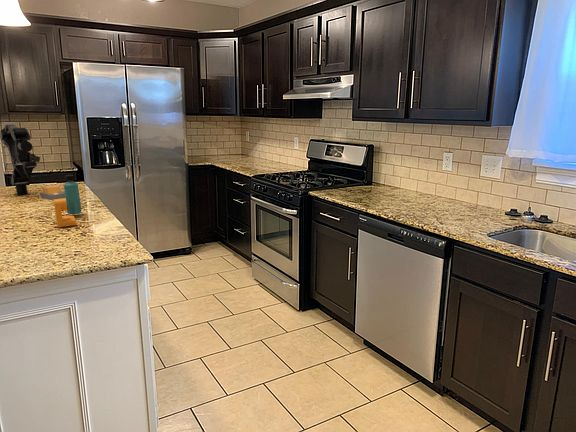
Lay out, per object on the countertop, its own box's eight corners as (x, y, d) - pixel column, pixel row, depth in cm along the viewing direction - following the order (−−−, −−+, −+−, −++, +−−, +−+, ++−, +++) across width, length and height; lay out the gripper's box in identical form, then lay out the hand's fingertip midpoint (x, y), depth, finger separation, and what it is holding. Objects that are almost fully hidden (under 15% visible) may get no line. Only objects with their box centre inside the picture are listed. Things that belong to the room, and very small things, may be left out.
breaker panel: (40, 196, 249) (39, 191, 249) (61, 193, 259) (60, 188, 258) (50, 199, 241) (50, 194, 240) (72, 196, 250) (71, 191, 249)
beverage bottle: (85, 215, 208) (80, 174, 203) (73, 218, 202) (68, 176, 197) (75, 213, 210) (70, 173, 205) (64, 216, 204) (58, 175, 199)
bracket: (76, 226, 188) (73, 200, 185) (58, 228, 184) (54, 201, 181) (74, 221, 197) (70, 195, 194) (56, 223, 193) (53, 197, 190)
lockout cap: (43, 193, 247) (42, 186, 246) (55, 191, 252) (54, 185, 252) (48, 194, 243) (47, 188, 242) (60, 192, 248) (60, 186, 247)
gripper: (44, 150, 240) (48, 177, 244) (30, 148, 250) (33, 174, 254) (23, 152, 231) (27, 180, 235) (9, 149, 242) (13, 176, 246)
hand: (26, 177), depth 243 cm, fingers open, 9 cm apart
